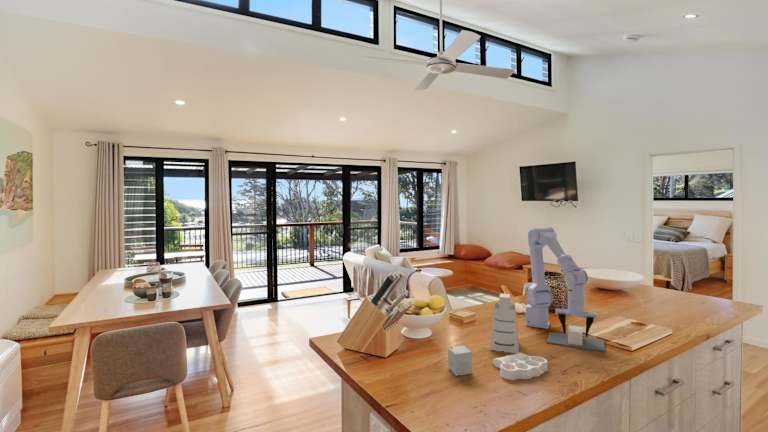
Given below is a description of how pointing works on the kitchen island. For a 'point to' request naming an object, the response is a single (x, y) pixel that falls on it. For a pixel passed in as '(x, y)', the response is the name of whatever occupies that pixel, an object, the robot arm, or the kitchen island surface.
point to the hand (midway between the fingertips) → (575, 334)
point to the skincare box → (460, 360)
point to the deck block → (575, 335)
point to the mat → (586, 344)
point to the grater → (504, 326)
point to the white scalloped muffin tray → (520, 366)
